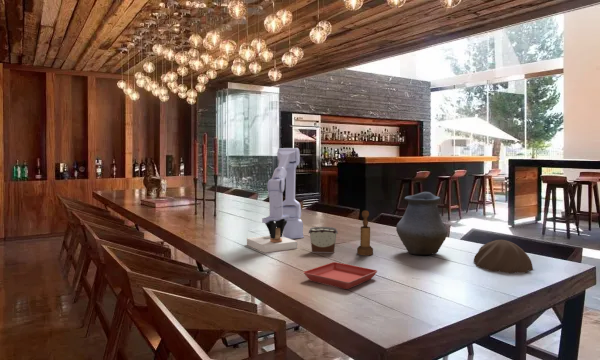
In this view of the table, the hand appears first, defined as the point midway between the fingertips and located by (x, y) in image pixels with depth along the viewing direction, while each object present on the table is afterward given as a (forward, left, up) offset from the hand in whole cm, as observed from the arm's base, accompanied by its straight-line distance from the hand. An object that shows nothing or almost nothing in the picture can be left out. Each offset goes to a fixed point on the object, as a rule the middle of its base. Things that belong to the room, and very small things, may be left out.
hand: (276, 237), depth 187 cm
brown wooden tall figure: (-27, +28, -5) cm, 39 cm away
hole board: (0, -4, -5) cm, 7 cm away
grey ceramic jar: (-48, +39, -5) cm, 62 cm away
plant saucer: (+3, +52, -5) cm, 52 cm away
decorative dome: (-58, +68, -5) cm, 90 cm away
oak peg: (0, 0, -4) cm, 4 cm away
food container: (-15, +15, -5) cm, 21 cm away
